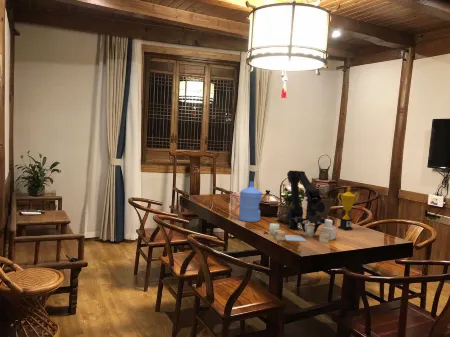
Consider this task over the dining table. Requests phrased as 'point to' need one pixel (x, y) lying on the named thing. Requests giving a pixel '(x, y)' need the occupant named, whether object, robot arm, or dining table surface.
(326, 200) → the plant pot
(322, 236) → the beech block
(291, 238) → the felt mat
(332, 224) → the medicine bottle
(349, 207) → the trophy
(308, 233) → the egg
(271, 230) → the pale curved piece
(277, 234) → the beech block
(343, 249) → the dining table surface
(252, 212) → the water jug
